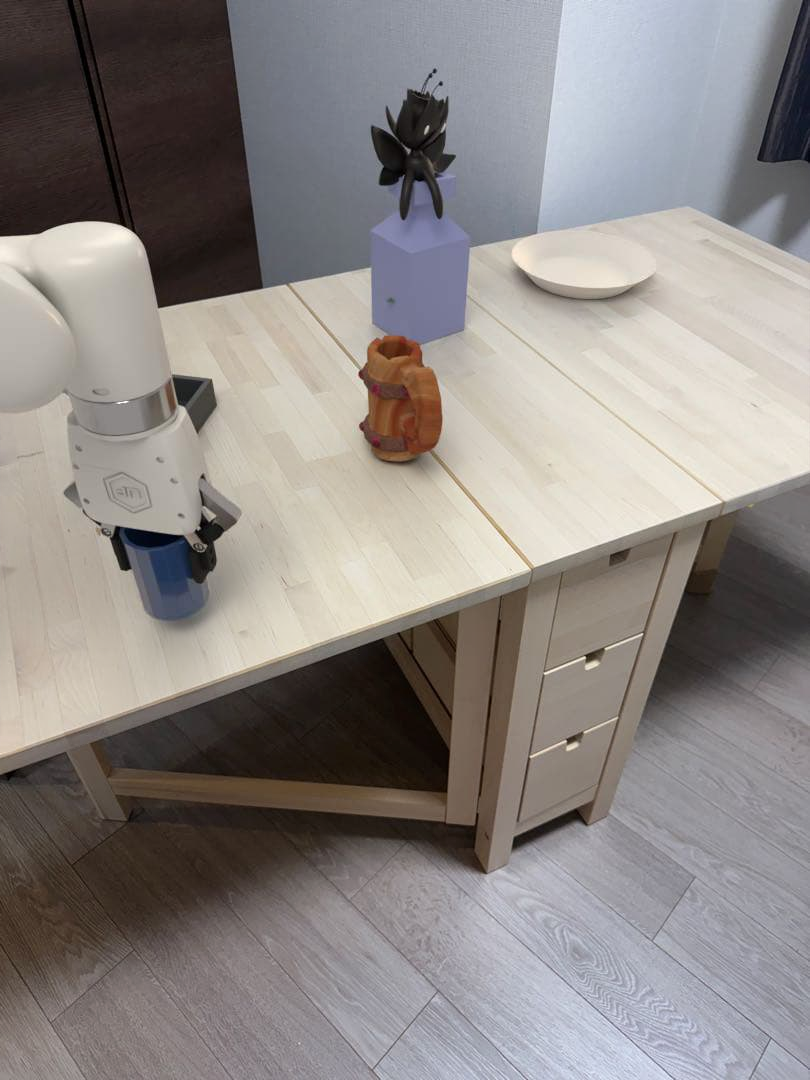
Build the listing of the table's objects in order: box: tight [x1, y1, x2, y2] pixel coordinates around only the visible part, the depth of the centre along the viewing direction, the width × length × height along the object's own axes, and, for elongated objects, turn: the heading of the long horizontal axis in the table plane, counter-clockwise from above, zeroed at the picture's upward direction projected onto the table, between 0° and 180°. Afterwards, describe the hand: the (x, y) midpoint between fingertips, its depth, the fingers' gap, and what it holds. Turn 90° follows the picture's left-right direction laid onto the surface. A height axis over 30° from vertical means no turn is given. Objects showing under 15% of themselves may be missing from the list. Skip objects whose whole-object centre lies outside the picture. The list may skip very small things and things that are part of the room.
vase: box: [369, 67, 472, 346], centre depth 105 cm, size 14×12×35 cm
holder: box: [171, 373, 218, 434], centre depth 94 cm, size 9×18×4 cm, turn 169°
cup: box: [119, 526, 211, 622], centre depth 68 cm, size 6×6×9 cm
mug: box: [357, 334, 443, 462], centre depth 87 cm, size 15×8×15 cm, turn 25°
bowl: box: [511, 229, 658, 300], centre depth 131 cm, size 25×25×4 cm
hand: (168, 565), depth 68 cm, fingers closed on cup, 6 cm apart
